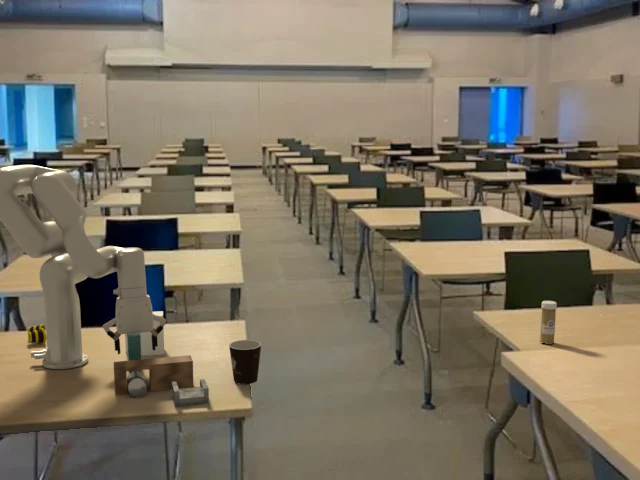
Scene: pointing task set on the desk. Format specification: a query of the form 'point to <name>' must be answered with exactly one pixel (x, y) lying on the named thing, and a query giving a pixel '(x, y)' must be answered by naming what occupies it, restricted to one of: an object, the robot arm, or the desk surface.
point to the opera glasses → (37, 334)
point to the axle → (136, 384)
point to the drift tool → (134, 347)
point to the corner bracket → (147, 340)
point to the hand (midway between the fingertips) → (136, 350)
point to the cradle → (190, 394)
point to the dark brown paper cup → (245, 360)
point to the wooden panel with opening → (156, 372)
